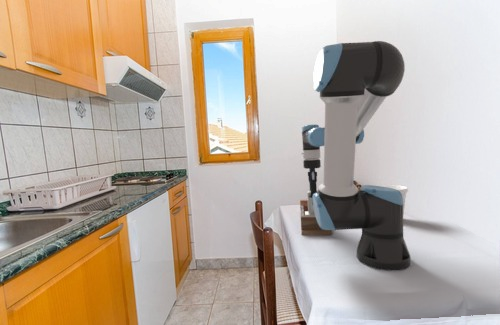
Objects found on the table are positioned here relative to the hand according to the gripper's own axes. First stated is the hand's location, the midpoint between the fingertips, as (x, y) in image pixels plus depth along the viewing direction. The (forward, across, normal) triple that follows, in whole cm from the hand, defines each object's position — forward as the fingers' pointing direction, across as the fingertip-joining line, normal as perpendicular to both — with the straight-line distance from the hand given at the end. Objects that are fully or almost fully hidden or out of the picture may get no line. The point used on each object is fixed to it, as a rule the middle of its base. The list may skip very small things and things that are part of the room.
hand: (313, 210), depth 117 cm
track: (+7, -6, 0) cm, 9 cm away
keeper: (+5, 0, 0) cm, 5 cm away
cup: (+7, -9, +36) cm, 38 cm away
